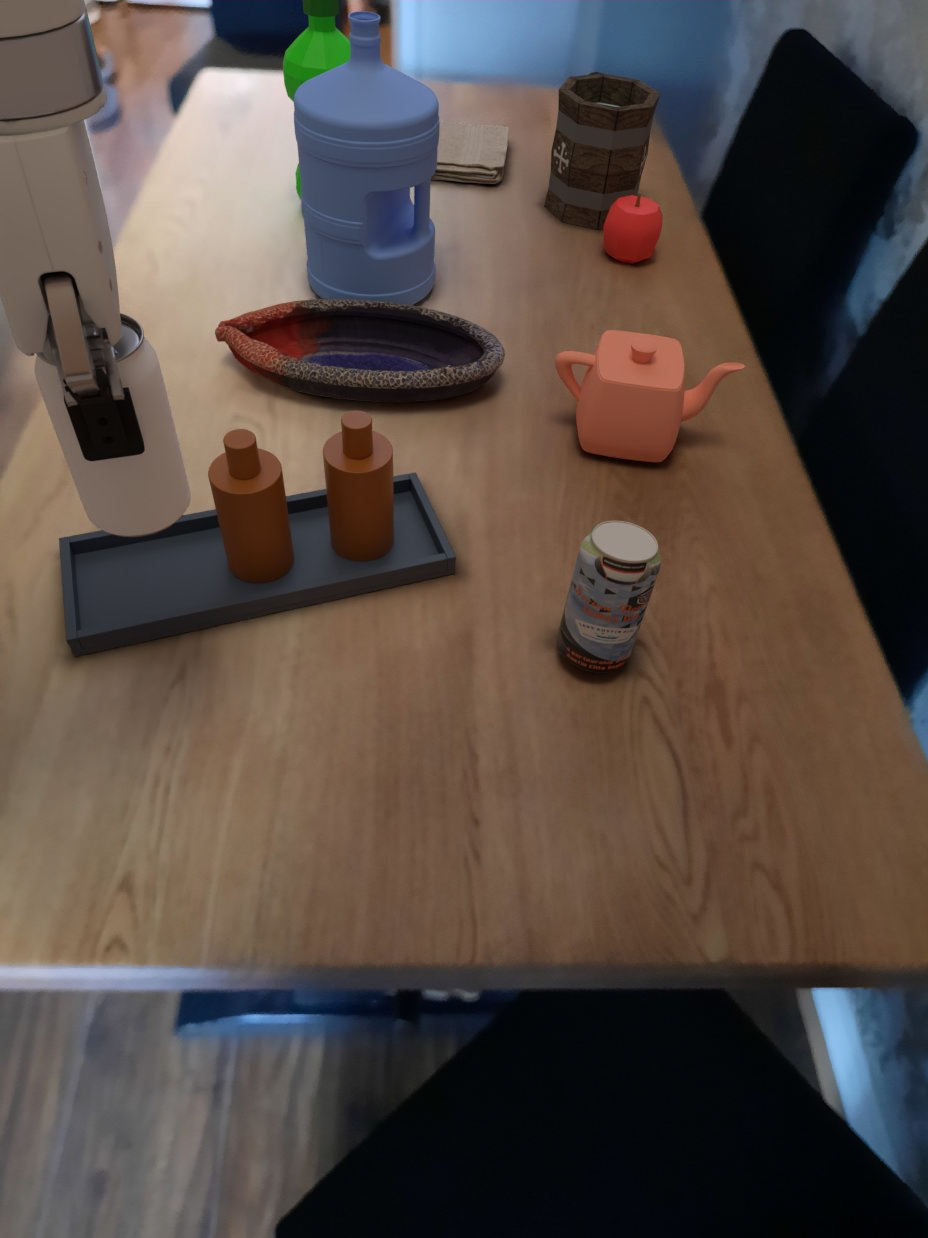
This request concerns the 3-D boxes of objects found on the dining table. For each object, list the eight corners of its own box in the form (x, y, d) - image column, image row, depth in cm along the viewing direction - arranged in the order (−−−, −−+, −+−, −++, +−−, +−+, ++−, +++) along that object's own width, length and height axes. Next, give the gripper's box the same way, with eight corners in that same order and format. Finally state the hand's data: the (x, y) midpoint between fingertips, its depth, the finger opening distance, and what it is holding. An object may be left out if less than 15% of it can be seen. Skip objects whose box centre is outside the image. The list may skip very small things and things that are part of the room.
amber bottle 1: (234, 589, 71) (207, 468, 62) (223, 544, 75) (195, 422, 65) (300, 575, 73) (284, 455, 63) (286, 531, 76) (269, 410, 66)
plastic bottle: (362, 232, 114) (354, 10, 95) (285, 222, 115) (262, -1, 96) (378, 199, 121) (374, -14, 102) (306, 190, 122) (288, -24, 102)
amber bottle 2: (339, 567, 74) (329, 447, 64) (324, 524, 77) (312, 403, 67) (401, 554, 75) (401, 435, 65) (384, 512, 78) (381, 392, 69)
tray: (74, 657, 67) (66, 640, 65) (66, 555, 74) (58, 537, 72) (455, 573, 75) (456, 556, 73) (415, 488, 82) (416, 471, 80)
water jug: (287, 300, 102) (256, 25, 81) (337, 242, 112) (322, -16, 91) (410, 327, 100) (412, 51, 79) (450, 266, 110) (462, 6, 89)
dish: (495, 429, 88) (500, 387, 85) (203, 396, 89) (195, 354, 85) (506, 346, 98) (511, 306, 95) (244, 318, 99) (237, 277, 95)
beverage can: (548, 674, 68) (571, 570, 59) (563, 607, 73) (586, 502, 64) (626, 692, 68) (661, 590, 58) (636, 623, 72) (670, 519, 63)
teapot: (550, 389, 93) (564, 301, 85) (715, 412, 92) (744, 325, 84) (540, 455, 86) (554, 365, 78) (719, 481, 85) (752, 392, 77)
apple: (638, 276, 111) (651, 214, 105) (586, 255, 114) (596, 194, 108) (667, 254, 115) (682, 193, 109) (616, 234, 118) (628, 174, 112)
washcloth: (422, 181, 125) (423, 159, 123) (434, 134, 137) (435, 113, 135) (503, 189, 125) (505, 167, 123) (508, 140, 137) (510, 119, 135)
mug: (645, 231, 119) (671, 113, 108) (549, 227, 118) (565, 108, 107) (621, 171, 132) (642, 59, 120) (534, 167, 131) (547, 55, 119)
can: (165, 460, 58) (121, 294, 49) (210, 514, 55) (172, 347, 45) (70, 496, 55) (5, 327, 46) (112, 555, 52) (51, 386, 43)
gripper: (-79, 2, 40) (41, 342, 54) (-117, 152, 30) (44, 527, 43) (90, -1, 42) (165, 329, 56) (109, 139, 32) (195, 503, 45)
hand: (111, 413), depth 49 cm, fingers closed on can, 6 cm apart
